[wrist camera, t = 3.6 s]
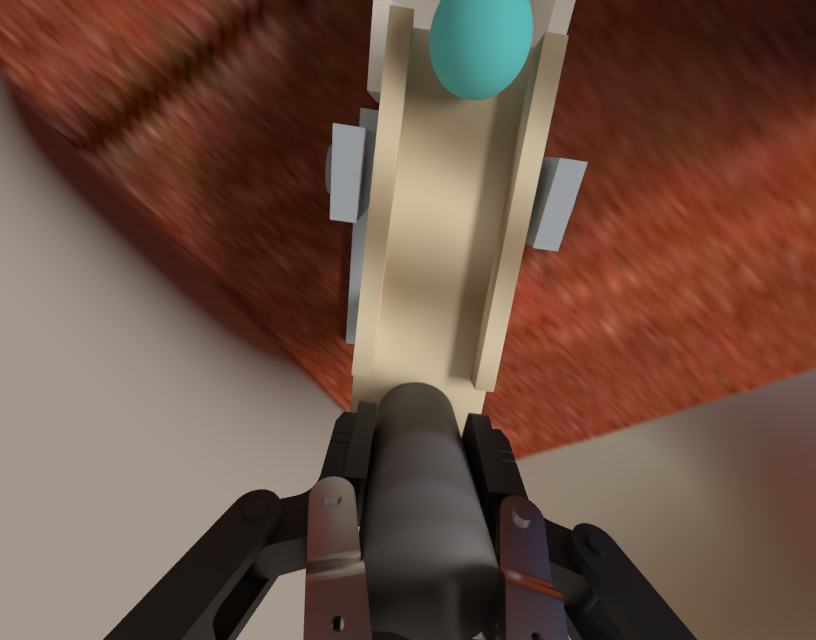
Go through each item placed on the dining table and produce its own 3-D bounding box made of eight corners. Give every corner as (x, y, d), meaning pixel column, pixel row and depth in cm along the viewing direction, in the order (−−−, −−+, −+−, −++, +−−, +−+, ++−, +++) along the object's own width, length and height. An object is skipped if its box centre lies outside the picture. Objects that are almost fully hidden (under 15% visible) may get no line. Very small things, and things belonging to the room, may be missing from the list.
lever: (389, 41, 13) (362, -357, 4) (545, 67, 14) (821, -257, 5) (348, 430, 17) (290, 640, 8) (469, 444, 18) (538, 661, 9)
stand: (360, 108, 19) (322, 78, 11) (529, 135, 20) (612, 124, 11) (346, 338, 26) (315, 427, 18) (472, 354, 26) (499, 447, 18)
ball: (436, -16, 11) (442, -65, 9) (529, -1, 12) (565, -43, 9) (421, 96, 13) (423, 86, 10) (504, 110, 13) (527, 103, 10)
